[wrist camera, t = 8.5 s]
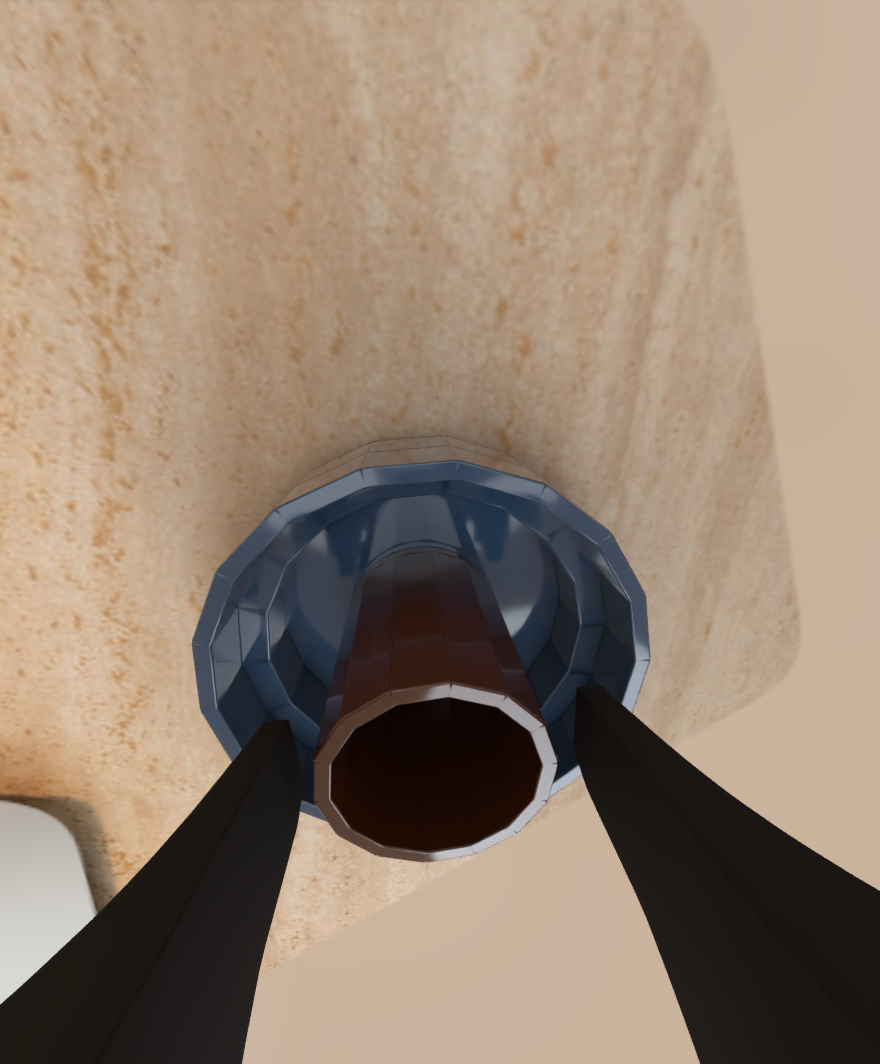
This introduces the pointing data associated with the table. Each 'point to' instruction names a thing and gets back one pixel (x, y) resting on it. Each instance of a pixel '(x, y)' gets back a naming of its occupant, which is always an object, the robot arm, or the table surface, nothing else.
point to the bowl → (398, 524)
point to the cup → (429, 716)
